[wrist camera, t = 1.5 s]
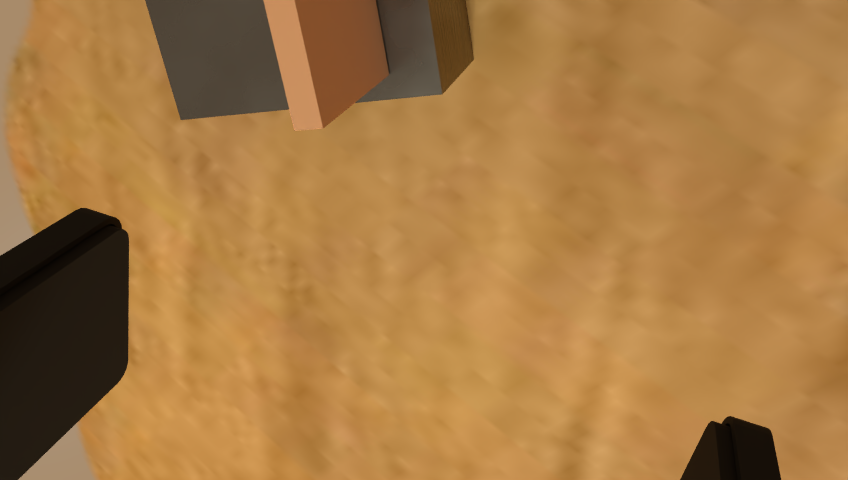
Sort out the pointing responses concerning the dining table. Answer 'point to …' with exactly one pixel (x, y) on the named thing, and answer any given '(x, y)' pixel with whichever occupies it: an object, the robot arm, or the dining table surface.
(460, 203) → the dining table surface
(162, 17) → the block
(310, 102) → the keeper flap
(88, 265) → the robot arm
